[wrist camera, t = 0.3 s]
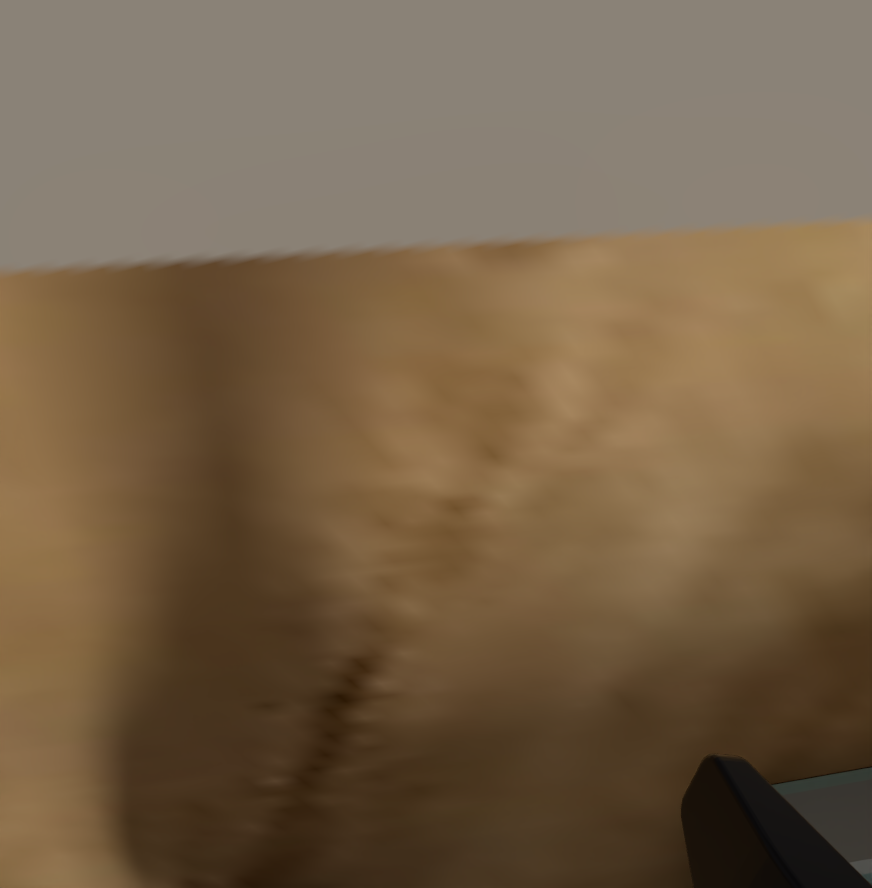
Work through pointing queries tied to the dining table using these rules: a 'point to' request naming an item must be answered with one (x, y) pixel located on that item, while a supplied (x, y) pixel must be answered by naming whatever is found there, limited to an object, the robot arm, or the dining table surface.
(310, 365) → the dining table surface
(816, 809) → the divided tray
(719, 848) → the robot arm
